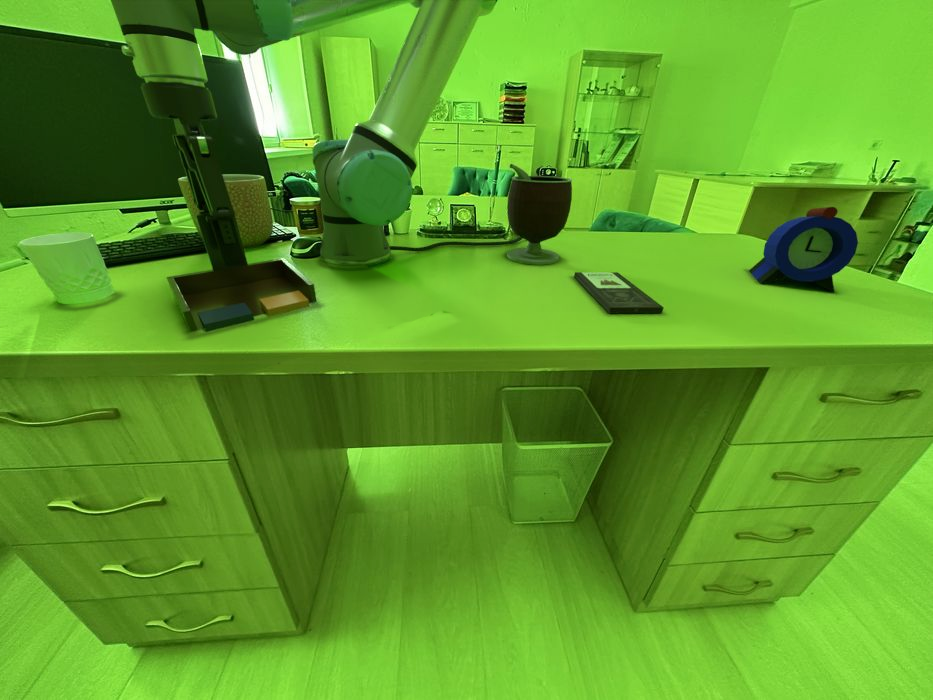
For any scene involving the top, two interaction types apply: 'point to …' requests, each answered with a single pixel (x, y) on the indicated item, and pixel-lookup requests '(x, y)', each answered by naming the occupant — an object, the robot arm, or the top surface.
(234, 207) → the planter
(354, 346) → the top surface
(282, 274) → the dustpan
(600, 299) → the chocolate bar
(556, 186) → the mate gourd
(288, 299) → the block
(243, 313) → the block
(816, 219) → the alarm clock
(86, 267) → the white cup
